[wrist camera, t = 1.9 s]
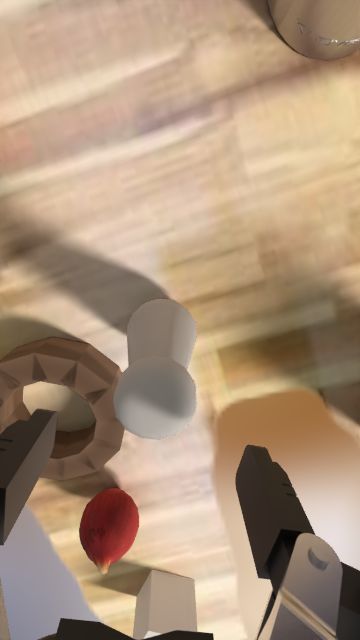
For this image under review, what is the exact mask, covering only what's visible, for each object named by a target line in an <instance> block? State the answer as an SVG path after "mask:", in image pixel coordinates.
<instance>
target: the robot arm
mask: <svg viewBox="0 0 360 640" xmlns="http://www.w3.org/2000/svg"><path fill="white" fill-rule="evenodd" d="M267 1H268V5H269V9H270V13H271V16H272V19H273V21H274V23H275V25H276V28H277V30H278V31H279V33H280V34H281V36H282V37H283V38H284V40H285V41H286V42H287V43H288V44H289V45H290V46H291V47H292V48H293V49H295V50H296V51H297V52H298V53H301V54H303V55H305V56H307V57H309V58H312V59H318V60H333V59H339V58H342V57H345V56H348V55H350V54H353V53H354V52H356V51H357V50H359V49H360V0H267ZM56 424H57V412H56V411H50V410H44V409H36V410H35V412H34V413H33V414H32V416H31V417H30V418H29V420H28V421H26V420H20V419H19V420H18V421H16V422H14V423H13V424H11V425H10V426H8V427H6V428H5V430H4V431H3V432H2V433H1V434H0V545H4V543H5V541H6V539H7V537H8V535H9V533H10V531H11V529H12V528H13V526H14V524H15V522H16V520H17V518H18V516H19V514H20V513H21V511H22V509H23V507H24V505H25V503H26V501H27V500H28V498H29V496H30V494H31V492H32V490H33V488H34V486H35V484H36V483H37V481H38V479H39V477H40V475H41V473H42V471H43V469H44V467H45V466H46V464H47V462H48V460H49V458H50V456H51V453H52V450H53V446H54V441H55V432H56ZM236 490H237V493H238V498H239V502H240V506H241V509H242V514H243V518H244V522H245V526H246V530H247V534H248V538H249V542H250V546H251V550H252V554H253V558H254V562H255V566H256V570H257V574H258V578H263V579H270V580H271V584H272V587H273V589H272V591H271V593H270V595H269V598H268V601H267V604H266V607H265V610H264V613H263V616H262V619H261V622H260V625H259V628H258V631H257V634H256V637H255V640H360V571H359V570H357V569H355V568H353V567H351V566H349V565H346V564H344V563H342V562H340V560H339V558H338V556H337V554H336V553H335V551H334V550H333V549H332V548H331V547H330V545H329V544H327V543H326V542H325V541H324V540H323V539H321V538H320V537H318V536H316V535H315V533H314V531H313V529H312V527H311V525H310V523H309V520H308V518H307V516H306V514H305V512H304V510H303V507H302V505H301V503H300V501H299V499H298V497H296V493H295V490H294V488H293V487H292V484H291V482H290V480H289V478H288V475H287V474H286V472H285V471H284V470H283V469H282V468H281V466H280V465H279V464H278V463H277V462H272V459H271V457H270V455H269V453H268V450H267V449H266V448H265V447H260V446H254V445H247V446H246V448H245V450H244V454H243V456H242V459H241V462H240V464H239V467H238V470H237V473H236ZM0 640H11V639H10V633H9V627H8V621H7V615H6V609H5V603H4V597H3V591H2V585H1V579H0ZM38 640H136V639H133V638H131V637H129V636H127V635H125V634H123V633H121V632H119V631H117V630H115V629H113V628H111V627H109V626H107V625H105V624H103V623H100V622H94V621H83V620H73V619H64V618H61V620H60V623H59V627H58V630H57V633H56V634H52V635H48V636H46V637H43V638H41V639H38ZM142 640H214V639H213V633H203V632H193V631H183V630H175V631H171V632H168V633H164V634H160V635H156V636H153V637H149V638H145V639H142Z"/></svg>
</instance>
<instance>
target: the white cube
mask: <svg viewBox="0 0 360 640" xmlns="http://www.w3.org/2000/svg"><path fill="white" fill-rule="evenodd" d="M175 630H183V631H193V632H197V617H196V601H195V584H194V579H190V578H186V577H182V576H178V575H174V574H170V573H166V572H162V571H157V570H153V569H152V570H151V572H150V574H149V576H148V577H147V579H146V581H145V583H144V585H143V586H142V588H141V590H140V592H139V593H138V595H137V599H136V609H135V620H134V630H133V639H136V640H142V639H145V638H149V637H153V636H156V635H160V634H164V633H168V632H171V631H175Z"/></svg>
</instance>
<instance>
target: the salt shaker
mask: <svg viewBox="0 0 360 640" xmlns="http://www.w3.org/2000/svg"><path fill="white" fill-rule="evenodd" d="M196 338H197V334H196V322H195V320H194V319H193V317H192V316H191V314H190V312H189V311H188V309H187V308H185V307H184V306H182V305H181V304H179V303H178V302H176V301H175V300H168V299H160V298H159V299H155V300H152V301H148V302H145V303H143V304H142V305H141V306H140V307H139V308H138V309H137V310H136V311H135V312H134V313H133V314H132V316H131V318H130V321H129V324H128V326H127V342H128V362H129V367H128V368H127V369H126V370H125V371H124V372H123V373H122V375H121V377H120V379H119V381H118V384H117V387H116V389H115V392H114V397H113V403H114V408H115V413H116V418H117V419H118V420H119V421H120V423H121V424H122V425H123V427H124V428H125V429H126V430H127V431H129V432H131V433H133V434H135V435H137V436H139V437H141V438H147V439H156V440H160V439H164V438H167V437H171V436H174V435H176V434H178V433H179V432H180V431H182V430H183V429H184V428H186V427H187V426H188V425H189V424H190V421H191V419H192V417H193V415H194V413H195V410H196V404H197V403H196V387H195V383H194V380H193V379H192V377H191V376H190V374H189V373H188V371H187V368H188V365H189V361H190V358H191V355H192V351H193V348H194V345H195V341H196Z"/></svg>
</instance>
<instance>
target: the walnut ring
mask: <svg viewBox="0 0 360 640" xmlns="http://www.w3.org/2000/svg"><path fill="white" fill-rule="evenodd" d="M121 375H122V372H121V370H120V368H119V366H118V365H116V364H115V363H114V362H112V361H111V360H110V359H109V358H107V357H106V356H105V355H103V354H102V353H101V352H99V351H98V350H97V349H96V348H94V347H93V346H92V345H90V344H87V343H82V342H77V341H71V340H66V339H61V338H56V337H49V338H46V339H43V340H39V341H36V342H33V343H29V344H26V345H23V346H20V347H17V348H16V349H14V350H13V351H12V352H11V353H9V354H8V355H7V356H5V357H4V358H3V359H2V360H0V434H1V433H2V432H3V431H4V430H5V428H6V427H8V426H10V425H11V424H13V423H14V422H16V421H18V420H19V419H20V420H26V421H28V420H29V418H30V417H31V415H30V413H29V412H28V410H27V408H26V406H25V405H24V403H23V401H22V400H23V386H26V385H29V384H33V383H36V382H40V381H42V382H47V383H53V384H58V385H64V386H67V387H69V388H70V389H71V390H73V391H74V392H76V393H77V394H79V395H80V396H81V397H83V398H84V399H86V400H87V401H88V403H89V406H90V408H91V410H92V412H93V414H94V416H95V418H96V420H97V421H96V422H95V423H94V424H93V425H92V426H91V427H90V428H87V429H84V430H80V431H76V432H73V433H68V432H61V431H56V432H55V441H54V446H53V450H52V453H51V456H50V458H49V460H48V462H47V464H46V466H45V467H44V469H43V471H42V473H41V475H40V477H41V478H48V479H55V480H61V481H63V480H67V479H71V478H75V477H78V476H82V475H86V474H90V473H94V472H97V471H98V470H99V469H100V468H101V467H102V466H103V465H104V464H105V463H106V462H107V461H108V460H110V459H111V458H112V457H113V456H114V455H115V454H116V453H117V452H118V451H119V450H120V447H121V443H122V439H123V434H124V430H125V428H124V427H123V425H122V424H121V423H120V421H119V420H118V419H117V418H116V413H115V408H114V403H113V397H114V392H115V389H116V387H117V384H118V381H119V379H120V377H121Z"/></svg>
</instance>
